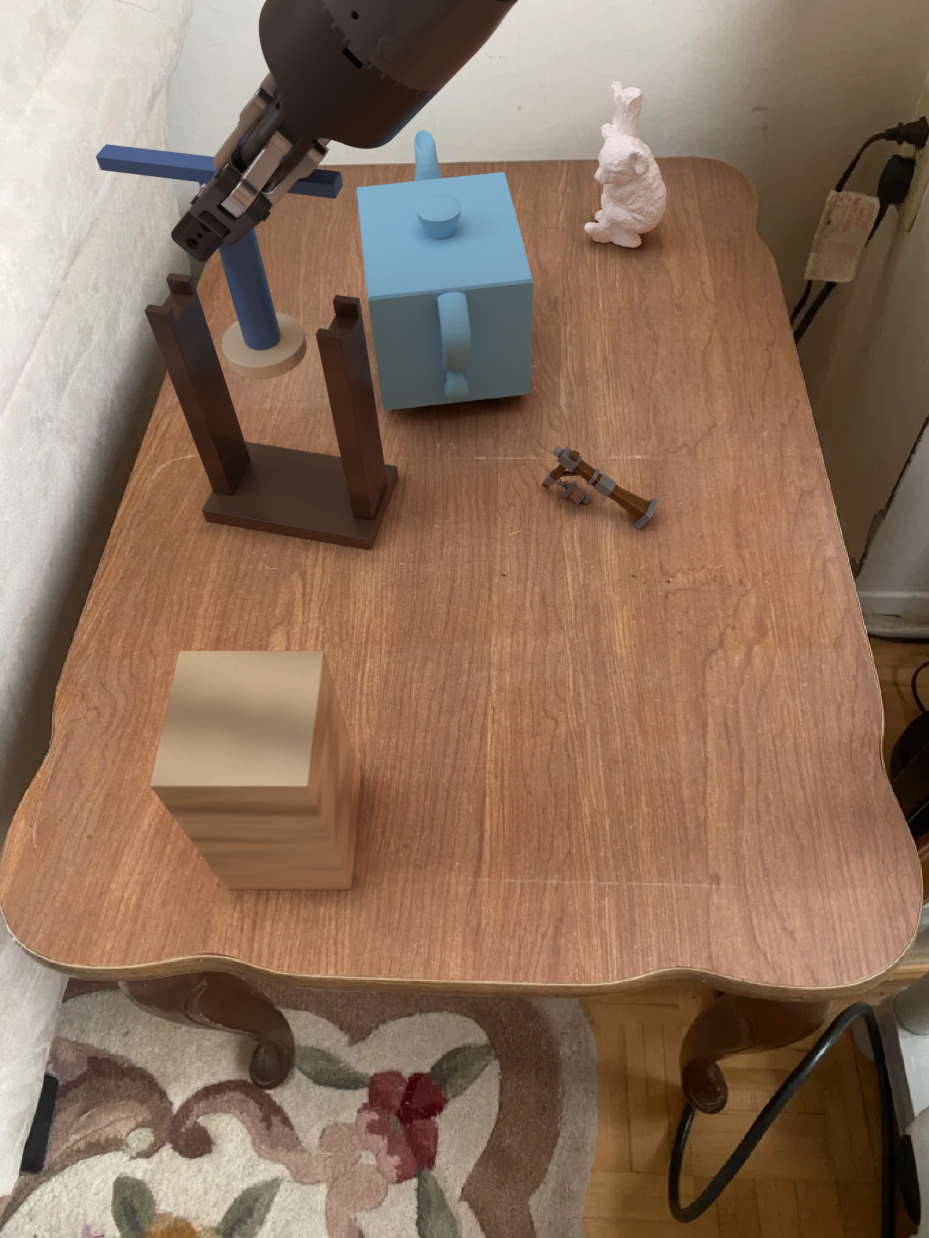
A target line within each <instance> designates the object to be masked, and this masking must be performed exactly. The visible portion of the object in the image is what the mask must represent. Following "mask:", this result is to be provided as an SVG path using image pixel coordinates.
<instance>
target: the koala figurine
mask: <svg viewBox="0 0 929 1238" xmlns="http://www.w3.org/2000/svg"><path fill="white" fill-rule="evenodd" d="M609 87H610V91H611V100H612V105H613V108H614V111H613V115H612V119H611V120H612V121H611V123H610V122H606V123H604V124H603V125H601V128H600V130H601V131H600V132H601V138H602V139H603V141H604V144H603V146H602V147H601V150H600V152H599V154H598V157H597V160H598V163H599V164H598V165H599V166H598V168H597V170H596V172H595V174H594V177H593V178H594V179H595V181H596V182H597V183H598V184H599V185H603V186H602V188H603V189H602V194H601V196H600V204H601V205H600V207H601V209H600V210H598V211H596V213H595V214H594V219H595V221H597V222H592V221H590V222H586V223H584V224H585V225H584V227H583V228H584V231H585V232H586V233H587V234H588V236H590V237H592V240H593V242H596V243H601V244H606V243H611V242H612V243H613V244H614V245H617V246H621V247H623V248H631V249H634V248H638V247H639V246H640V245H641V244H642V239H641V237H640V235H641V234H646V233H648V232H651V231H652V230H655V228H656V227H657V226H658V225H659V223H660V222H661V221H662V219H663V218H664V215H665V213H666V207H667V193H668V192H667V187H666V184H665V182H664V181H663V176H662V174H661V169H660V167H659V165H658V163H657V162H656V161H657V160H655V157H654V156H653V154H652V151H651V149H650V148H649V145H647V144H645V143H644V142H643V141H642V140H641V139H640V137H639V136H638V131H639V123H640V122H639V121H640V114H641V110H642V101H643V93H642V90H641V88H640V87H634V86H629V87H626V88H624V87H623V82H622V81H620V80H615V81H613V82H611V84H610V85H609ZM639 234H640V235H639Z"/></svg>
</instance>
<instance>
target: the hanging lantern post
mask: <svg viewBox="0 0 929 1238" xmlns="http://www.w3.org/2000/svg"><path fill="white" fill-rule="evenodd" d="M553 455H554V457H556V458H557V459H556V461H555V463H558V465H557V466H556V467H555V468H553V469H552V470H551V471H550V472H549V473H548V475H547V476H546V477H545V479H544V480H543V482H542V484H541V486H542V487H543V488H545V489H546V490H549V489H550V488H551V487H552V486H554V485H555V484H557V485H559V486H560V490H561V491H562V490H563V491H565V492H564V495H563V496H564V499H566V498H567V497H568V498H569V499H571V500H572V501H574V502H575V504H576V505H579V504H580V503H581V502H582V504H585V505H586V504H589V503H590V501H591V497H590V496H589V495H588V494H587V492H588V491H589V489H588V488H584V487H581V486H580V485H578V484H577V482H578V480H576V479H575V480H574V481H572V482H571V483H570V482H568V481H569V480H568V479H566V480H565V481H563V480H562V479H561V478H563V477H578V476H579V477H580V478H581V479H583V480H584V481H585V482H586V483H585V485H587V486H588V487H590V486H592V490H594V491H597V493H599V494H600V495H602V496H603V497H604V498H605V499H607V498H609V499H611V500H612V501H613V502H614V503H616V504H617V505H618V506H619V507H621V508H622V509H623V510H624V511H626V512H627V513H628V514H629V515H630V516H631V517H632V518H633V519H634V520H635V523H634V525H633V526H634V527H635V528H636V529H637V530H639V529H640V528H642V527H643V526H644V525H645V524H646V523H647V522H648V521H649V520H650V519H651V518H652V517H653V514H654V512H655V510H656V507H657V505H658V503H659V501H660V498H656V497H655V496H654V497H653V498H652V499H651V500H648V499H646V498H643V497H640V496H638V495H637V494H634V493H633V492H631V491H628V490H627V489H625V488H622V487H621V486H620V485H618V484H617V483H618V481H616V480H614V479H612V478H611V477H610V476H608V475H607V474H606V472H603V473H601V469H599V468H598V467H597V468H594V467H593V466H591V465H590V464H589V463H587V462H586V461H584V459H582V458H583V456H582V455H581V453H580V452H578V451H577V450H576V449H572V448H570V447H569V445H567V446H566V447H565V448H564V449H563V447H561V446H556V447H555V448H554V449H553ZM558 481H559V482H558Z"/></svg>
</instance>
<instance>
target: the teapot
mask: <svg viewBox="0 0 929 1238" xmlns="http://www.w3.org/2000/svg"><path fill="white" fill-rule="evenodd" d="M435 143H436V142H435V139H434V137H433V135H432V134H431V132H430V131H428V130H425V129H421V130H419V131H417V132H416V134H415V136H414V140H413V148H414V163H415V164H414V165H415V166H414V167H415V169H414V180H412V181H403V182H395V183H394V182H393V183H386V184H376V185H367V186H357V187H356V199H357V200H356V201H357V208H358V209H357V211H358V218H359V227H360V228H359V229H360V237H361V238H360V239H361V250H362V257H363V258H362V259H363V266H364V267H363V268H364V276H365V285H366V286H365V287H366V295H367V305H368V311H369V318H370V326H371V332H372V339H373V346H374V347H373V348H374V353H375V354H374V355H375V359H376V360H375V361H376V367H377V368H376V369H377V374H378V380H379V387H380V388H379V389H380V395H381V402H382V409H383V411H393V410H400V409H414V408H418V407H420V408H421V407H427V406H436V405H437V406H438V405H445V404H446V405H447V404H455V403H463V402H473V401H479V400H487V399H488V400H489V399H501V398H505V397H506V398H507V397H517V396H524V395H525V396H526V395H531V385H532V384H531V383H532V382H531V381H532V347H533V346H532V344H533V317H534V315H533V314H534V313H533V311H534V279H533V274H532V272H531V271H532V270H531V268H530V263H529V260H528V255H527V252H526V249H525V248H526V247H525V245H524V241H523V237H522V234H521V230H520V226H519V221H518V217H517V214H516V210H515V206H514V202H513V198H512V195H511V190H510V188H509V184H508V180H507V176H506V173H505V172H504V171H499V172H491V173H483V174H482V173H481V174H472V175H461V176H451V177H443V176H442V171H441V168H440V164H439V159H438V154H437V148H436V147H437V146H436V144H435Z"/></svg>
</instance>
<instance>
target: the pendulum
mask: <svg viewBox="0 0 929 1238" xmlns="http://www.w3.org/2000/svg"><path fill="white" fill-rule="evenodd" d="M214 157H215V156H210V155H203V154H193V153H185V152H177V151H167V150H160V149H150V148H142V147H133V146H124V145H117V144H104V146H102V147H101V149H100V150H99V151H98V153H97V154H96V155H95V159H96V162H97V164H98V167H99V170H100V171H104V172H105V171H106V172H113V173H121V174H130V175H137V176H145V177H153V178H161V179H170V180H178V181H186V182H194V183H198V186H199V188H200V187H201V185H202V184H203V183H204V182H205V183H206V184H207V183H208V181H209V180H210V179H211V178H212V176H213V175H214V174H215V172H216V168H215V167H214V164H213V159H214ZM343 186H344V183H343V176H342V172H341V171H338V170H331V169H322V168H315V169H314V170H313V172H312V173H311V174H310V175H309V176H308V177H306V178H300V179H298V180H297V181H296V182H295V183H294V184H293V186H292V187H291V188H290V189H289V190H288V191H287V192H286V194H294V195H301V196H307V197H316V198H317V197H318V198H324V199H325V198H326V199H333V200H335V199H337V197H338V196H339V194H340V192H341V190H342V188H343ZM217 251H218V255H219V258H220V262H221V266H222V270H223V273H224V276H225V279H226V283H227V286H228V290H229V293H230V297H231V301H232V304H233V308H234V310H235V315H236V318H237V320H236V321H235V322H234V323H232V324H231V325H230V326H229V327H228V328H227V329H226V330H225V331H224V333H223V335H222V338H221V342H220V343H221V351H222V354H223V357H224V360H225V363H226V365H227V367H228V368H229V369H230V370H231V371H232V372H234V374H236V375H238V376H241V377H243V378H246V379H251V380H268V379H274V378H277V377H280V376H284V375H285V374H287V373H289V372H291V371H293V370H294V369H295V368H296V367H298V366H299V365H300V364H301V363H302V362H303V360H304V358H305V356H306V354H307V350H308V345H307V344H308V343H307V339H306V334H305V330H304V327H303V326H302V325H301V323H300V322H299V321H298V320H297V319H296V318H295V317H293V316H291V315H288V314H286V313H282V312H278V311H277V312H276V309H275V305H274V302H273V298H272V294H271V290H270V285H269V282H268V277H267V273H266V268H265V264H264V261H263V256H262V253H261V248H260V245H259V240H258V237H257V232H256V227H254V228H253V229H252V230H250V231H249V232H248V233H247V234H245V235H244V236H243V237H241V238H240V240H239V241H238V242H237V243H236V242H235V243H234V244H232V245H231V246H230V247H229V246H228V245H227V244H226V243H225V242H223V243H222V244H221V245H220V246H219V248H218V249H217Z"/></svg>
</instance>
